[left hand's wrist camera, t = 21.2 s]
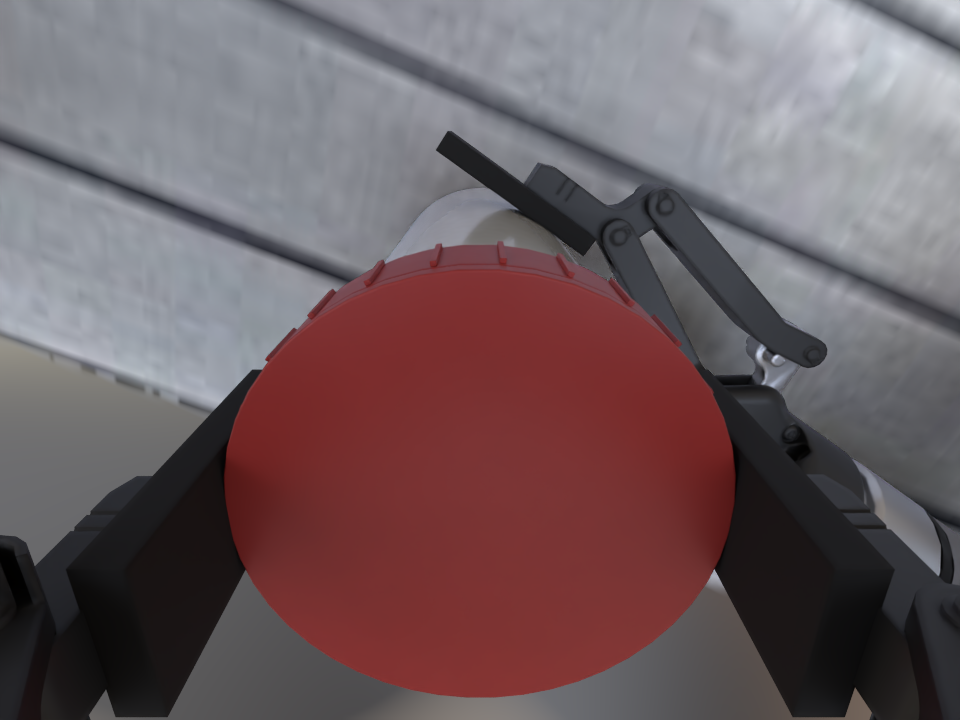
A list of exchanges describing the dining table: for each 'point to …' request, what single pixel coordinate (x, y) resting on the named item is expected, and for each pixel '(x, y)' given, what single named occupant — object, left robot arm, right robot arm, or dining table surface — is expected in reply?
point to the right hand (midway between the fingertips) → (381, 242)
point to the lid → (479, 474)
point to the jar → (476, 226)
